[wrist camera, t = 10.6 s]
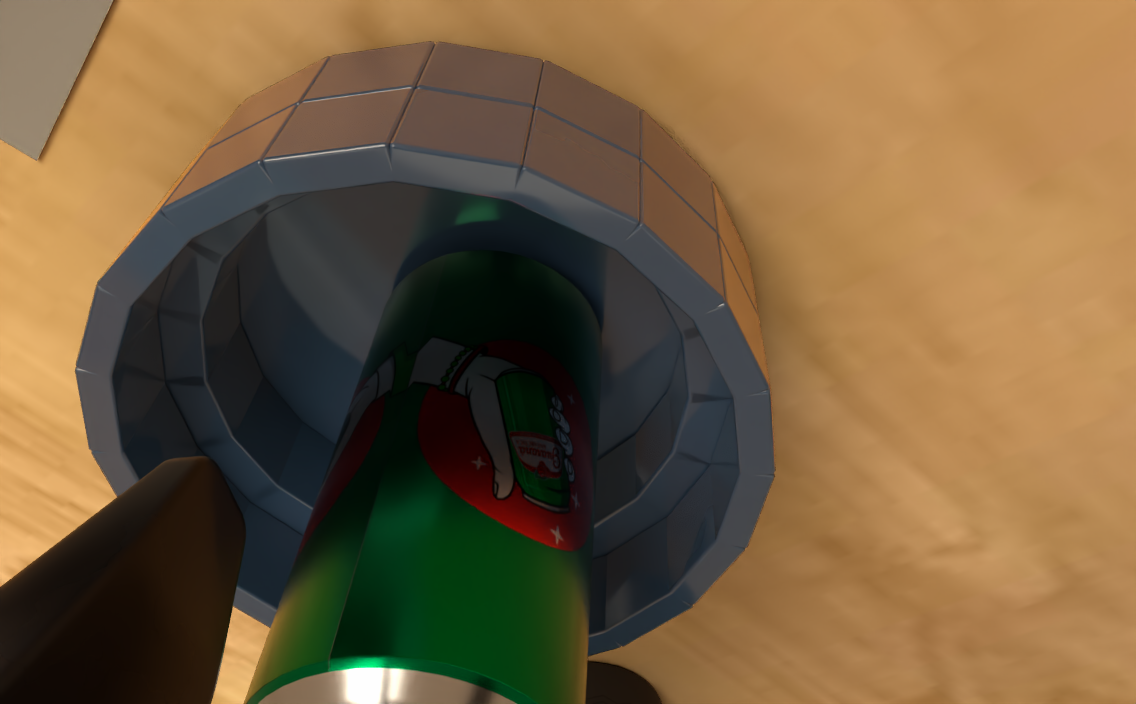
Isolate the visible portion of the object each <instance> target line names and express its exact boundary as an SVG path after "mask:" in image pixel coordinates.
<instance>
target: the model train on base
mask: <svg viewBox="0 0 1136 704" xmlns="http://www.w3.org/2000/svg"><path fill="white" fill-rule="evenodd" d="M113 1H114V0H0V139H1V140H2V141H4V142H6V143H7V144H9V145H11V146H13V147H14V148H16V149H18V150H19V151H21V152H23V153H24V154H26V155H28V156H29V157H31V158H33V159H35V160H36V161H37V160H38V158H39V156H40V154H41V152H42V150H43V148H44V146H45V144H46V142H47V140H48V137H49V135H50V133H51V131H52V129H53V127H54V125H55V123H56V121H57V118H58V116H59V114H60V112H61V110H62V108H63V106H64V104H65V102H66V99H67V97H68V95H69V93H70V91H71V89H72V87H73V85H74V83H75V81H76V78H77V76H78V74H79V72H80V70H81V68H82V66H83V64H84V62H85V59H86V57H87V55H88V53H89V51H90V49H91V47H92V45H93V43H94V41H95V38H96V36H97V34H98V32H99V30H100V28H101V26H102V24H103V22H104V19H105V17H106V15H107V13H108V11H109V9H110V7H111V5H112V3H113Z"/></svg>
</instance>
